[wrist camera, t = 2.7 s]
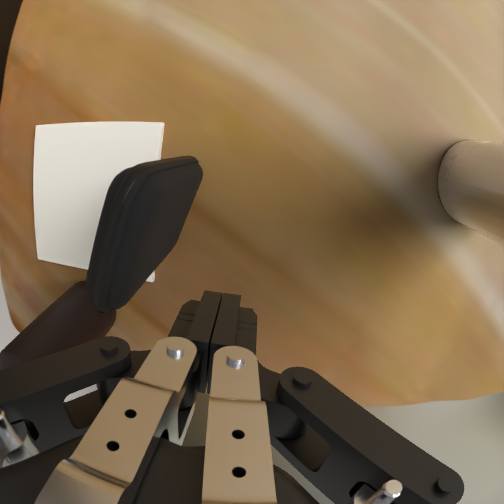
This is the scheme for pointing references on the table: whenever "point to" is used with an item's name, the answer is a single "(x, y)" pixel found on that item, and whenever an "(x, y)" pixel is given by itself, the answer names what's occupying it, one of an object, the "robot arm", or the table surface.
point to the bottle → (59, 328)
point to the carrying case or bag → (139, 227)
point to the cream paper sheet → (82, 181)
